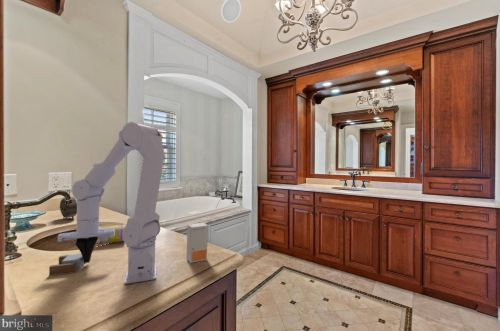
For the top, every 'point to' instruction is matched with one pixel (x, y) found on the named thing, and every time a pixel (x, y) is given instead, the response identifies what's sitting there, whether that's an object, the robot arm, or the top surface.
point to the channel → (62, 267)
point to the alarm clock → (68, 208)
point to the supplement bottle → (116, 238)
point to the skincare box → (197, 242)
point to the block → (74, 260)
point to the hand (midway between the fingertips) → (87, 261)
